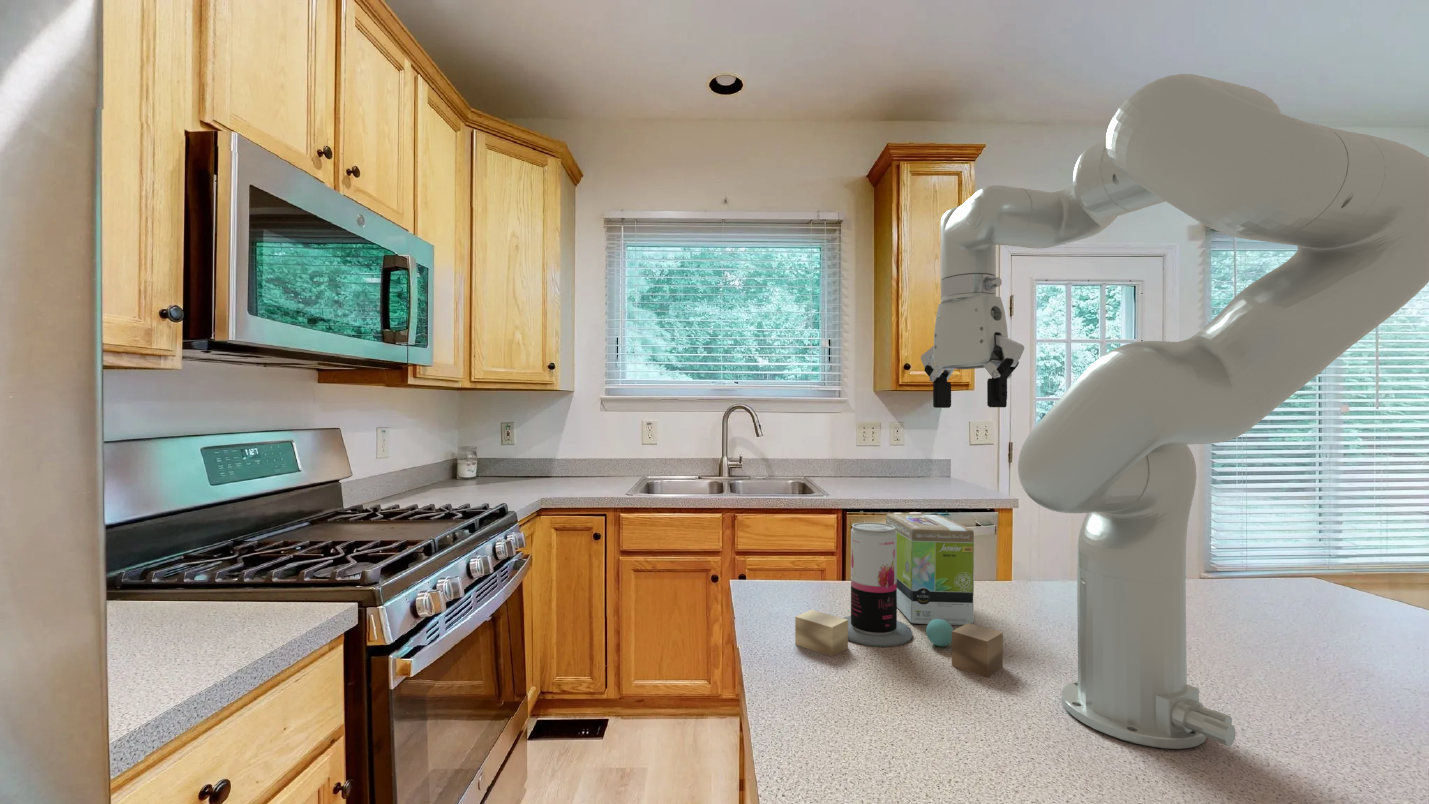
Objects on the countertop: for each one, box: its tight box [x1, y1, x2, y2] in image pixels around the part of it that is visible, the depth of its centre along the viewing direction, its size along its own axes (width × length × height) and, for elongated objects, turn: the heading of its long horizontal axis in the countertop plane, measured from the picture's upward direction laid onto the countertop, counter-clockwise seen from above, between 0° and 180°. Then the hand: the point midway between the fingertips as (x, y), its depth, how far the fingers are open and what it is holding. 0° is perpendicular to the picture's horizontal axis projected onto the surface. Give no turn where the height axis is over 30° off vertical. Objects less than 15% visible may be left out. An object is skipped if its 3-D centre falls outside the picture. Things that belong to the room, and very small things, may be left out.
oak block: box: [794, 609, 849, 658], centre depth 82 cm, size 6×4×4 cm, turn 46°
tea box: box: [885, 513, 975, 626], centre depth 97 cm, size 15×10×15 cm, turn 179°
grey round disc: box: [842, 615, 913, 648], centre depth 87 cm, size 11×11×1 cm
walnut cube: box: [951, 623, 1004, 679], centre depth 75 cm, size 4×4×4 cm
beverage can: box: [850, 521, 898, 635], centre depth 87 cm, size 6×7×15 cm
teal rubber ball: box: [925, 619, 954, 647], centre depth 82 cm, size 4×4×4 cm
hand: (968, 407), depth 86 cm, fingers open, 9 cm apart
